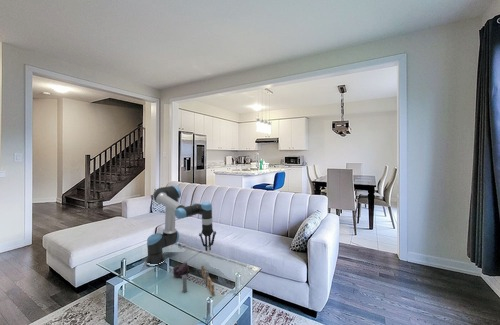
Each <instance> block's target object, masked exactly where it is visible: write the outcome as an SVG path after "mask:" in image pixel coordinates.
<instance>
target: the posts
mask: <svg viewBox="0 0 500 325" xmlns="http://www.w3.org/2000/svg"><path fill="white" fill-rule="evenodd" d="M207 276H209V277H210V271H209V270H207V269H206V282H205V285H206V287H207ZM187 278H188V276H187V274H186V275H182V277H181V280H182V293H184V294H185V293H187V292H188V286H187V285H188V284H187V281H188V280H187Z"/></svg>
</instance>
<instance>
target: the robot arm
mask: <svg viewBox="0 0 500 325" xmlns="http://www.w3.org/2000/svg"><path fill="white" fill-rule="evenodd" d="M152 197H153V198H152V199H153V200H154V201H155V202H156V203H157V204H159V205H163V206H164V207H165V213H164V219H165V220H164V229H163V230H162V233H160V232H158V233H153V234H150V235H149V236H148V237H147V241H146V244H147V256H146V259H145V263H146V262H147V263H150V264H158V265H155V266H154V267H158V266H160V265H162V264H164V263H165V261H166V258H165V257H166V256H165V255H164V253H163V249H165V248H167V247H169V246H174V245H175V244H177V243H178V242H179V240H180V233H179V231H178V230H177V228H176V218H177V219H178V220H181V219H186V218H189V217H192V216H196V215H199V216H200V215H201V224H202V225H201V232H200V233H199V234H198V236H199V237H200V240H201V244H202V246H203V247H204V249H205V252H206V255H207V256H208V257H209V256H210V255H211V254H210V251H211V250H212V247H211V246H214V243H215V239H216V235H217V232H216V230H214V229H213V207H212V206H213V204H212V202H209V201H208V202H207V201H206V202H205V201H204V202H202V203H197V202H195V203H194V202H193V204H191V205H188V206H185V205H183V204H181V203H180V202H179V199H180V198H181V197H182V192H181V189H180V188H179V187H178V186H177V185H169V186H164V187H158V188H157V189H156V190H154V192H153V195H152ZM203 236H204V239H203ZM164 260H165V261H164ZM163 261H164V262H163ZM161 262H163V263H161ZM159 263H161V264H159Z"/></svg>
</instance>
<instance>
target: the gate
mask: <svg viewBox="0 0 500 325" xmlns="http://www.w3.org/2000/svg"><path fill="white" fill-rule="evenodd" d="M206 271H207V269H206V268H205V267H204V265H202V266H201V276H202V278H203V280H204V283H206Z"/></svg>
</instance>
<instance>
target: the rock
mask: <svg viewBox="0 0 500 325" xmlns="http://www.w3.org/2000/svg"><path fill="white" fill-rule="evenodd" d="M172 270H173V276H174V277H175V278H178V277H180V278H182V275H187V274H188V272H189V271H190V269H189V264H188V263H187V262H183V263H180V264H178V265H176V266H175V267H173V268H172Z"/></svg>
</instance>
